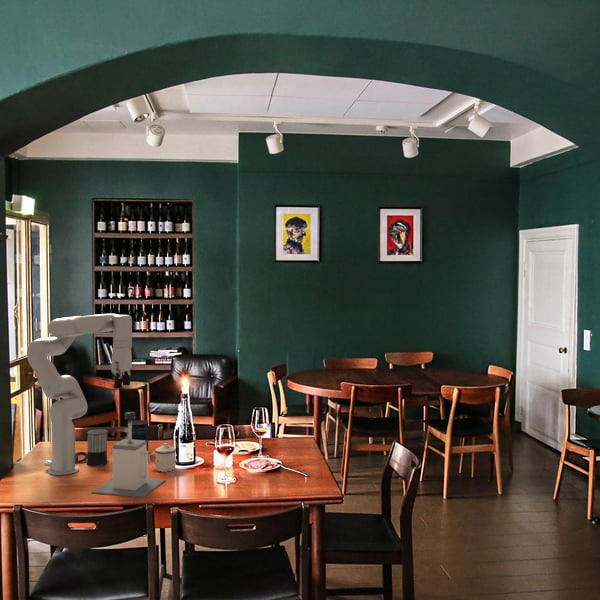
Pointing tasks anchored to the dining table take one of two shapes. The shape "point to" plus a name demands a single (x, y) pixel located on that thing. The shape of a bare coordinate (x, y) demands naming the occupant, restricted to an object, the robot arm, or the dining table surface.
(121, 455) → the box
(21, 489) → the dining table surface
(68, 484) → the dining table surface
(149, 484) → the slate mat
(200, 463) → the dining table surface
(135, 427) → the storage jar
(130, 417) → the plunger
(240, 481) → the dining table surface
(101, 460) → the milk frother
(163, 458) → the teacup with lid
